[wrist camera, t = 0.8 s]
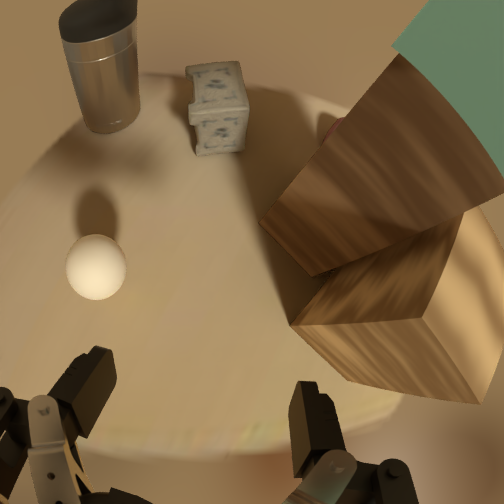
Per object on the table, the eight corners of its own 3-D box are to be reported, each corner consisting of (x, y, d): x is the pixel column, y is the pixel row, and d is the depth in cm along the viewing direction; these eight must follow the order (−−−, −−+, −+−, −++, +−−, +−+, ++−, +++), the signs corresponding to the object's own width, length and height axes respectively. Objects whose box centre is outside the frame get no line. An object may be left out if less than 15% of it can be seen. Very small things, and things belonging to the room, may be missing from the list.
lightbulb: (87, 300, 30) (49, 289, 19) (95, 251, 31) (64, 220, 21) (133, 309, 31) (113, 302, 21) (141, 259, 33) (126, 230, 22)
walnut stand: (311, 277, 38) (551, 167, 8) (258, 223, 38) (433, 13, 8) (355, 221, 42) (532, 105, 12) (310, 174, 42) (455, 15, 12)
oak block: (347, 380, 35) (480, 404, 15) (289, 325, 35) (421, 317, 15) (396, 306, 40) (518, 282, 19) (348, 252, 40) (469, 192, 19)
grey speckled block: (181, 108, 39) (186, 58, 30) (233, 107, 42) (248, 60, 32) (184, 159, 37) (189, 109, 28) (242, 156, 40) (262, 110, 30)
